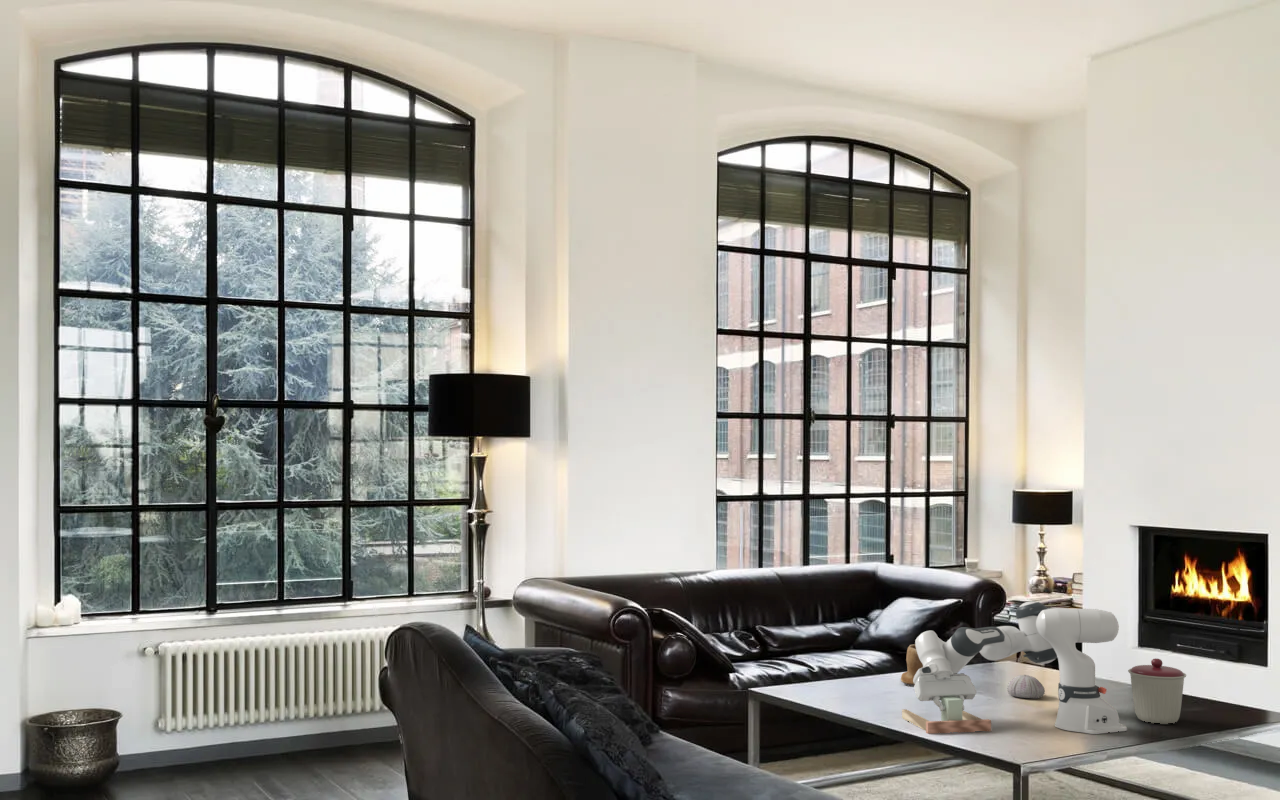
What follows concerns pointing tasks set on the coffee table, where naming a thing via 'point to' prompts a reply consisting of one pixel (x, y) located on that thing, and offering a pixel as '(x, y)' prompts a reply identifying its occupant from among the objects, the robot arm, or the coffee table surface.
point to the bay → (949, 723)
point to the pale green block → (951, 709)
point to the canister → (1157, 692)
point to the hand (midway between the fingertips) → (952, 709)
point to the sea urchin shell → (1025, 687)
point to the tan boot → (911, 665)
